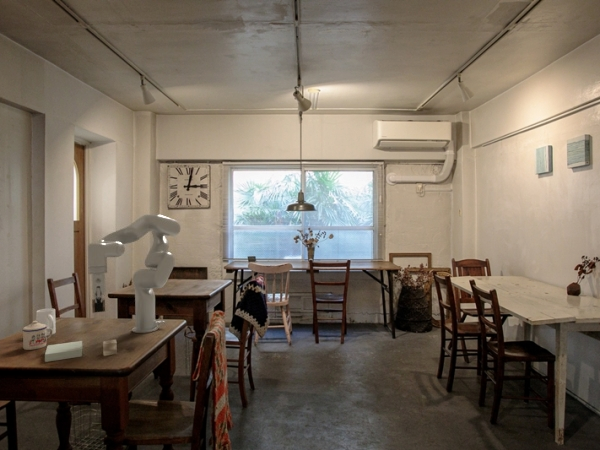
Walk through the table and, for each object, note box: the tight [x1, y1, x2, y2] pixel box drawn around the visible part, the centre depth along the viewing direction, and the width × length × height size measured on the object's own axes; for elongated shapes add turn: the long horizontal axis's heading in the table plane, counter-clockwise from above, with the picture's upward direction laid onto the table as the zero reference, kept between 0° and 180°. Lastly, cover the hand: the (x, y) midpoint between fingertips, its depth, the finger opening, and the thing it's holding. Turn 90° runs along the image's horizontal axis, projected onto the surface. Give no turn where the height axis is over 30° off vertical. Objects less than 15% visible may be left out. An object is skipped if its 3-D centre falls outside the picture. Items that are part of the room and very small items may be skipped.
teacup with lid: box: [22, 320, 53, 351], centre depth 176 cm, size 12×9×12 cm
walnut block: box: [91, 297, 106, 314], centre depth 174 cm, size 5×5×5 cm
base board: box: [44, 340, 83, 363], centre depth 165 cm, size 13×13×3 cm
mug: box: [35, 307, 57, 337], centre depth 193 cm, size 8×12×12 cm
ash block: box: [102, 339, 118, 357], centre depth 166 cm, size 5×5×5 cm
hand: (98, 309), depth 174 cm, fingers closed on walnut block, 4 cm apart
